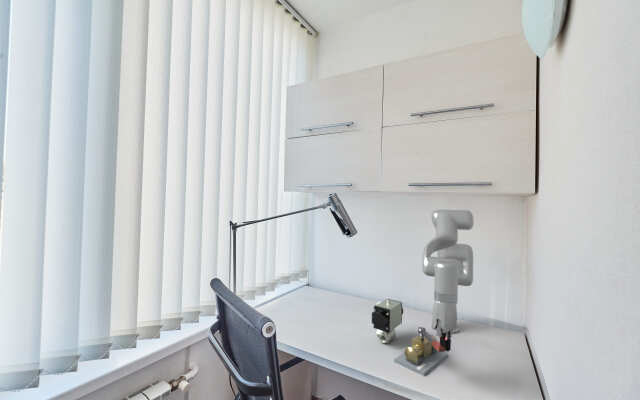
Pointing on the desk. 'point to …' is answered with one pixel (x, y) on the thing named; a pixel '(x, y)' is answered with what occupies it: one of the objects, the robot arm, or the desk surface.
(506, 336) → the desk surface
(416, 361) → the valve pipe
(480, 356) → the desk surface
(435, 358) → the base board
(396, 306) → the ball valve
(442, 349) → the lever
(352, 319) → the desk surface
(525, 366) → the desk surface
